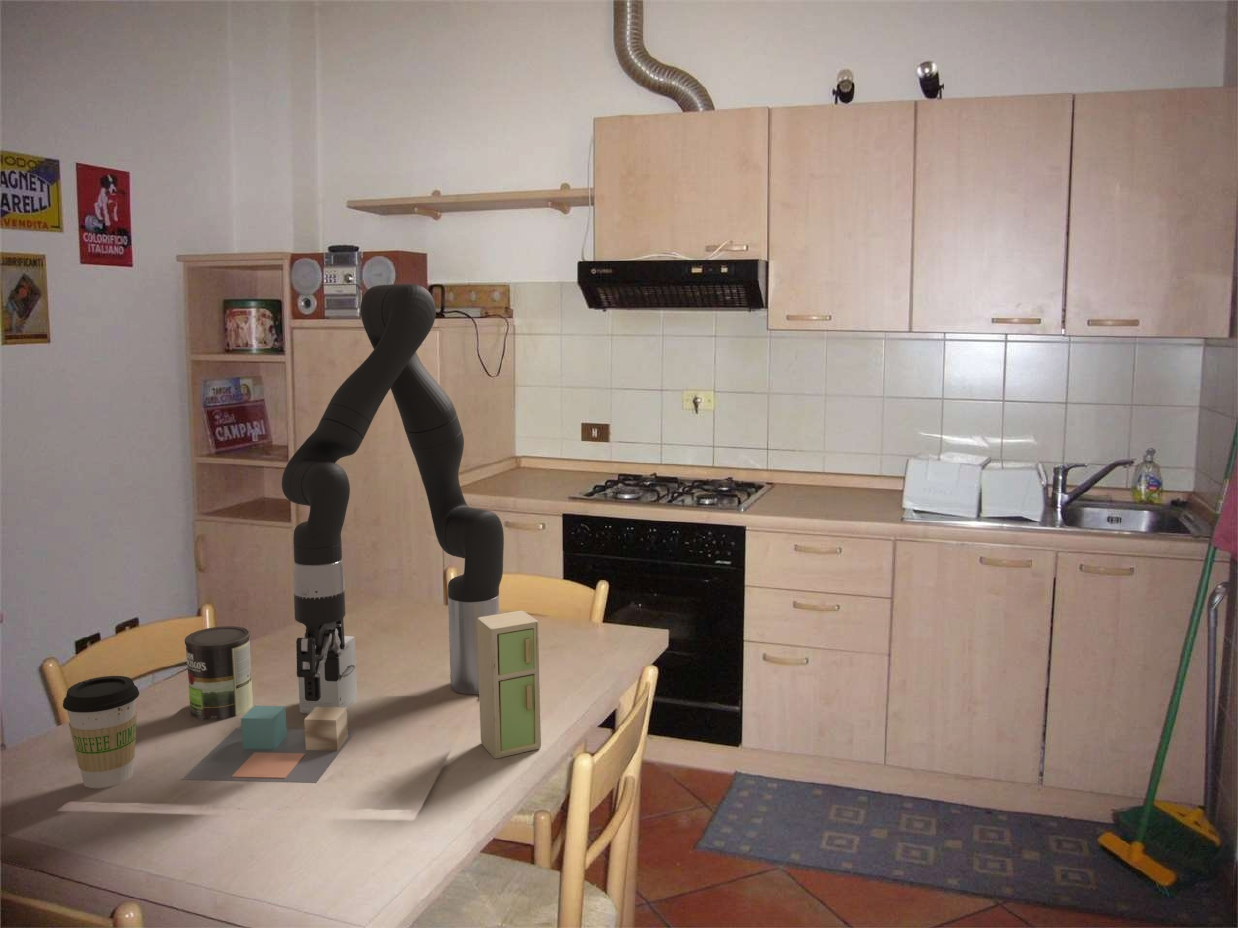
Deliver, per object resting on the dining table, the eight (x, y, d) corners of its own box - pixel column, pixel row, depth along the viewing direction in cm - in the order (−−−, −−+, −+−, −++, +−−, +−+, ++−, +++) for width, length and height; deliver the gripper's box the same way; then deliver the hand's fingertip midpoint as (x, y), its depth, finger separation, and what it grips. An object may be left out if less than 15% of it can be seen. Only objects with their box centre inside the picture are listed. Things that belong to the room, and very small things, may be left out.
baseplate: (356, 736, 160) (356, 729, 160) (316, 788, 143) (316, 781, 142) (236, 733, 162) (235, 727, 161) (182, 785, 144) (181, 778, 144)
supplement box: (339, 721, 166) (335, 649, 165) (298, 718, 168) (294, 646, 166) (359, 704, 174) (355, 635, 172) (320, 701, 175) (316, 633, 173)
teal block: (286, 735, 158) (285, 706, 158) (274, 749, 153) (272, 718, 153) (256, 735, 159) (254, 705, 158) (242, 748, 154) (241, 718, 153)
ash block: (348, 737, 158) (346, 707, 157) (337, 750, 153) (336, 719, 152) (317, 736, 158) (315, 706, 157) (305, 749, 153) (304, 719, 152)
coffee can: (206, 731, 163) (201, 649, 160) (179, 714, 170) (174, 635, 167) (265, 713, 170) (260, 634, 168) (237, 697, 177) (232, 621, 175)
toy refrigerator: (495, 761, 151) (492, 629, 148) (479, 743, 158) (476, 616, 154) (543, 751, 155) (541, 621, 152) (525, 733, 161) (523, 609, 158)
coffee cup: (95, 806, 138) (86, 704, 135) (56, 789, 143) (47, 690, 141) (160, 778, 146) (152, 682, 144) (121, 763, 151) (113, 669, 149)
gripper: (327, 602, 145) (330, 708, 147) (358, 577, 159) (361, 674, 161) (276, 601, 145) (281, 706, 147) (312, 576, 159) (316, 673, 161)
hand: (323, 689), depth 154 cm, fingers open, 8 cm apart
